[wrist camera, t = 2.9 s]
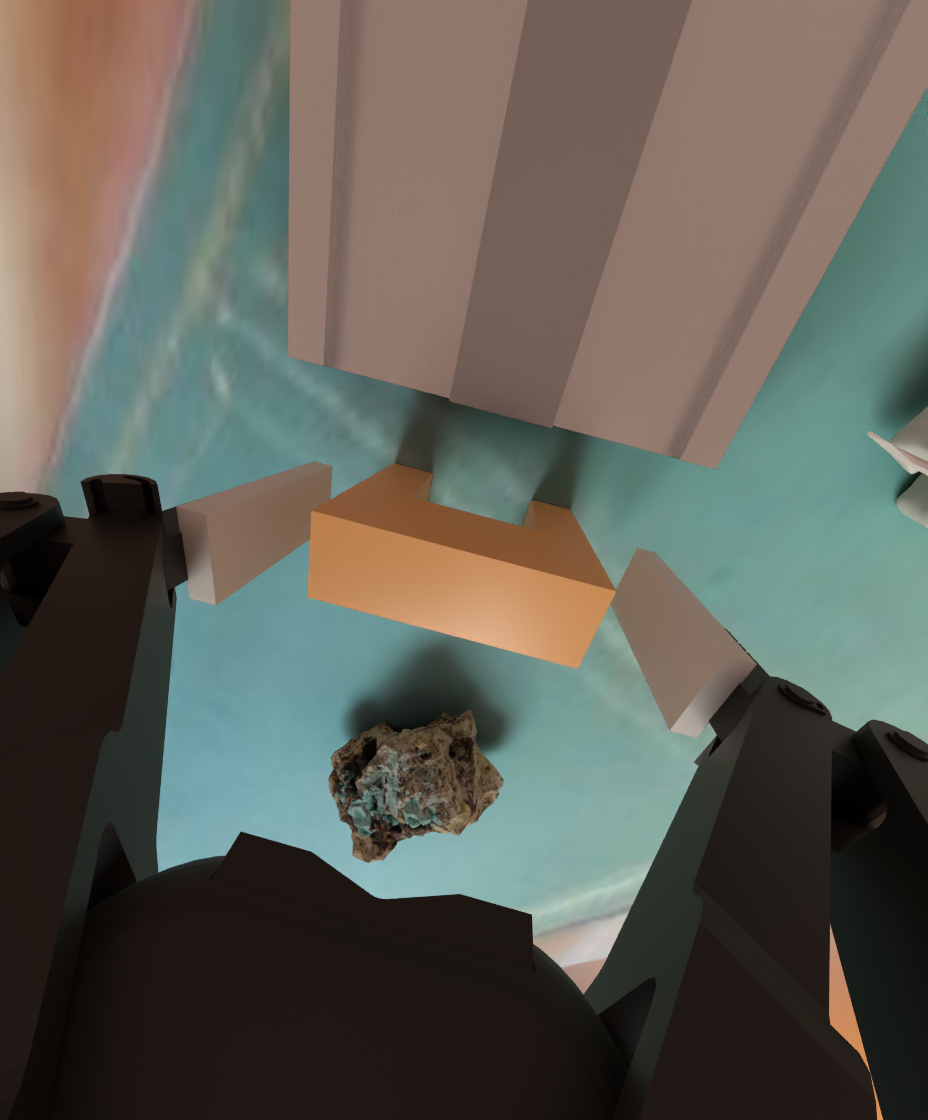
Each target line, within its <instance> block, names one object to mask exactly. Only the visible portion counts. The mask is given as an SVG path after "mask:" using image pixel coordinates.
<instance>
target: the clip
mask: <svg viewBox="0 0 928 1120" xmlns="http://www.w3.org/2000/svg"><path fill="white" fill-rule="evenodd" d="M432 478H433V473H429V472H425V471H422V470H418V469H414V468H410V467H406V466H403V465H399V464H395V463H394V464H392V465H390V466H388V467H387V468H385V469H383V470H381V471H380V472H378V473H376V474H374V475H373V476H371V477H369V478H367V479H366V480H364V481H362V482H360V483H359V484H357V485H355V486H353V487H352V488H350V489H348V490H346V491H345V492H343V493H341V494H339V495H338V496H336V497H334V498H333V499H331V500H329V501H327V502H326V503H324V504H322V505H320V506H319V507H317V508H315V509H313V510H312V511H311V530H310V555H309V580H308V597H309V598H313V599H316V600H320V601H324V602H328V603H331V604H335V605H339V606H343V607H346V608H350V609H354V610H358V611H362V612H365V613H369V614H373V615H377V616H380V617H384V618H388V619H392V620H395V621H399V622H403V623H407V624H411V625H414V626H418V627H422V628H426V629H429V630H433V631H437V632H441V633H444V634H448V635H452V636H456V637H460V638H463V639H467V640H471V641H475V642H478V643H482V644H486V645H490V646H493V647H497V648H501V649H505V650H509V651H512V652H516V653H520V654H524V655H527V656H531V657H535V658H539V659H542V660H546V661H550V662H554V663H558V664H561V665H565V666H569V667H573V668H576V669H577V668H578V666H579V664H580V663H581V661H582V659H583V657H584V655H585V653H586V651H587V649H588V647H589V645H590V643H591V641H592V639H593V637H594V635H595V633H596V631H597V629H598V627H599V625H600V623H601V621H602V619H603V617H604V615H605V613H606V611H607V609H608V607H609V605H610V603H611V601H612V599H613V597H614V595H615V593H616V590H615V588H614V586H613V584H612V583H611V581H610V579H609V577H608V575H607V574H606V572H605V570H604V568H603V567H602V565H601V563H600V561H599V559H598V558H597V556H596V554H595V552H594V550H593V549H592V547H591V545H590V543H589V542H588V540H587V538H586V536H585V534H584V533H583V531H582V529H581V527H580V526H579V524H578V522H577V520H576V518H575V517H574V515H573V513H572V511H571V510H569V509H566V508H562V507H558V506H554V505H550V504H547V503H543V502H539V501H535V500H532V499H531V502H530V505H529V508H528V511H527V514H526V517H525V520H524V523H523V526H518V525H514V524H510V523H506V522H503V521H499V520H495V519H491V518H488V517H484V516H480V515H476V514H472V513H469V512H465V511H461V510H457V509H453V508H450V507H446V506H442V505H438V504H435V503H431V502H428V498H429V493H430V488H431V483H432Z"/></svg>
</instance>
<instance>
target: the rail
mask: <svg viewBox="0 0 928 1120" xmlns="http://www.w3.org/2000/svg"><path fill="white" fill-rule="evenodd" d="M927 87H928V0H290V120H289V264H288V357H291V358H295V359H299V360H303V361H307V362H310V363H314V364H318V365H322V366H327V367H332V368H336V369H340V370H344V371H348V372H351V373H355V374H359V375H363V376H367V377H370V378H374V379H378V380H382V381H386V382H389V383H393V384H397V385H401V386H405V387H408V388H412V389H416V390H420V391H423V392H427V393H431V394H435V395H439V396H442V397H446V398H450V399H449V401H450V402H454V403H457V404H461V405H465V406H469V407H473V408H476V409H480V410H484V411H488V412H492V413H495V414H499V415H503V416H507V417H511V418H514V419H518V420H522V421H526V422H530V423H533V424H537V425H541V426H545V427H549V428H552V426H556V427H560V428H564V429H568V430H572V431H575V432H579V433H583V434H587V435H591V436H594V437H598V438H602V439H606V440H610V441H613V442H617V443H621V444H625V445H629V446H632V447H636V448H640V449H644V450H648V451H651V452H655V453H659V454H663V455H667V456H670V457H673V458H676V459H679V460H683V461H686V462H690V463H694V464H698V465H702V466H705V467H709V468H713V469H716V468H717V466H718V464H719V462H720V460H721V459H722V457H723V455H724V453H725V451H726V450H727V448H728V446H729V444H730V442H731V441H732V439H733V437H734V435H735V433H736V432H737V430H738V428H739V426H740V424H741V423H742V421H743V419H744V417H745V415H746V414H747V412H748V410H749V408H750V406H751V404H752V403H753V401H754V399H755V397H756V395H757V394H758V392H759V390H760V388H761V386H762V385H763V383H764V381H765V379H766V377H767V376H768V374H769V372H770V370H771V368H772V367H773V365H774V363H775V361H776V359H777V358H778V356H779V354H780V352H781V350H782V349H783V347H784V345H785V343H786V341H787V339H788V338H789V336H790V334H791V332H792V330H793V329H794V327H795V325H796V323H797V321H798V320H799V318H800V316H801V314H802V312H803V311H804V309H805V307H806V305H807V303H808V302H809V300H810V298H811V296H812V294H813V293H814V291H815V289H816V287H817V285H818V284H819V282H820V280H821V278H822V276H823V274H824V273H825V271H826V269H827V267H828V265H829V264H830V262H831V260H832V258H833V256H834V255H835V253H836V251H837V249H838V247H839V246H840V244H841V242H842V240H843V238H844V237H845V235H846V233H847V231H848V229H849V228H850V226H851V224H852V222H853V220H854V218H855V217H856V215H857V213H858V211H859V209H860V208H861V206H862V204H863V202H864V200H865V199H866V197H867V195H868V193H869V191H870V190H871V188H872V186H873V184H874V182H875V181H876V179H877V177H878V175H879V173H880V172H881V170H882V168H883V166H884V164H885V163H886V161H887V159H888V157H889V155H890V153H891V152H892V150H893V148H894V146H895V144H896V143H897V141H898V139H899V137H900V135H901V134H902V132H903V130H904V128H905V126H906V125H907V123H908V121H909V119H910V117H911V116H912V114H913V112H914V110H915V108H916V107H917V105H918V103H919V101H920V99H921V98H922V96H923V94H924V92H925V90H926V88H927Z"/></svg>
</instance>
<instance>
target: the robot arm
mask: <svg viewBox="0 0 928 1120" xmlns="http://www.w3.org/2000/svg"><path fill="white" fill-rule="evenodd" d="M331 478H332V466H330V465H326V464H323V463H319V462H315V461H314V462H311V463H308V464H305V465H302V466H299V467H296V468H293V469H290V470H287V471H284V472H281V473H278V474H275V475H271V476H268V477H265V478H262V479H259V480H256V481H253V482H250V483H247V484H244V485H241V486H238V487H235V488H232V489H229V490H226V491H223V492H219V493H216V494H213V495H210V496H207V497H204V498H201V499H198V500H195V501H192V502H189V503H186V504H182V505H179V506H176V507H173V508H170V509H167V510H164V511H162V509H161V503H160V497H159V491H158V485H157V483H156V481H154V480H152V479H150V478H147V477H142V476H137V475H127V474H108V475H98V476H93V477H89V478H86V479H84V480H83V481H81V485H82V488H83V492H84V496H85V499H86V503H87V507H88V511H89V514H90V516H89V517H88V519H83V518H74V517H65V516H63V513H62V510H61V507H60V504H59V501H58V500H57V498H54V497H51V496H48V495H42V494H33V493H25V492H5V493H0V1120H877V1112H876V1100H875V1095H874V1090H873V1085H872V1080H873V1084H874V1087H875V1091H876V1094H877V1098H878V1102H879V1106H880V1110H881V1113H882V1117H883V1120H928V744H926V743H925V742H924V741H922V740H921V739H918V738H917V737H916V736H914V735H913V734H911V733H909V732H907V731H903V730H901V729H899V728H897V727H895V726H892V725H890V724H887V723H885V722H882V721H878V720H870V721H868V722H867V723H866V724H865V725H864V726H863V727H862V728H860V729H859V730H858V731H857V732H856V731H854V730H851V729H849V728H847V727H845V726H842V725H840V724H838V723H836V722H834V721H832V716H831V714H830V711H829V710H828V709H827V708H826V706H825V705H823V703H822V702H820V701H819V700H818V699H817V698H815V697H814V696H813V695H812V694H810V693H809V692H808V691H806V690H805V689H803V688H801V687H799V686H797V685H795V684H793V683H791V682H789V681H787V680H784V679H781V678H778V677H770V676H769V675H768V674H767V673H766V672H765V671H764V670H763V668H762V667H761V666H760V665H759V664H758V663H757V662H756V661H755V660H754V659H753V657H752V656H751V655H750V654H749V653H747V652H746V650H745V649H744V648H743V647H742V645H741V644H739V643H738V641H737V640H736V639H735V638H734V637H733V636H732V635H731V633H730V632H729V631H728V630H726V629H725V628H724V627H722V625H721V624H720V623H719V622H718V621H717V620H716V619H715V618H714V617H713V616H712V614H711V613H710V612H709V611H708V610H707V609H706V608H705V607H704V606H703V605H702V603H701V602H700V601H699V600H698V599H697V598H696V597H695V596H694V595H693V593H692V592H691V591H690V590H689V589H688V588H687V587H686V586H685V585H684V584H683V582H682V581H681V580H680V579H679V578H678V577H677V576H676V575H675V574H674V573H673V571H672V570H671V569H670V568H669V567H668V566H667V565H666V564H665V563H664V562H663V560H662V559H661V558H660V557H659V556H658V555H657V554H656V553H654V552H651V551H647V550H643V549H640V548H637V550H636V552H635V554H634V556H633V558H632V560H631V562H630V564H629V566H628V568H627V570H626V571H625V573H624V575H623V577H622V579H621V581H620V583H619V585H618V587H617V589H616V593H615V595H614V597H613V599H612V601H611V603H610V604H611V606H612V608H613V610H614V612H615V614H616V617H617V619H618V621H619V623H620V625H621V627H622V629H623V632H624V634H625V636H626V638H627V640H628V642H629V644H630V647H631V649H632V651H633V653H634V655H635V657H636V659H637V662H638V664H639V666H640V668H641V670H642V672H643V674H644V676H645V679H646V681H647V683H648V685H649V687H650V689H651V691H652V694H653V696H654V698H655V700H656V702H657V704H658V706H659V709H660V711H661V713H662V715H663V717H664V719H665V721H666V724H667V726H668V728H669V730H670V731H674V732H677V733H681V734H684V735H688V736H692V737H695V738H697V737H698V736H699V735H700V733H701V732H702V731H703V730H704V728H705V727H706V726H707V725H708V724H709V722H710V724H711V726H712V727H713V729H714V731H715V732H716V734H717V736H716V737H715V738H714V739H713V741H712V742H711V743H710V744H709V745H708V746H707V748H706V749H705V750H704V751H703V752H702V753H701V755H700V756H699V757H698V758H697V759H696V760H695V762H694V763H695V764H697V765H699V766H698V769H697V771H696V773H695V775H694V777H693V779H692V781H691V783H690V785H689V787H688V790H687V792H686V794H685V796H684V798H683V800H682V802H681V804H680V806H679V808H678V811H677V813H676V815H675V817H674V819H673V821H672V823H671V825H670V827H669V829H668V832H667V834H666V836H665V838H664V840H663V842H662V844H661V846H660V848H659V850H658V853H657V855H656V857H655V859H654V861H653V863H652V865H651V867H650V869H649V871H648V874H647V876H646V878H645V880H644V882H643V884H642V886H641V888H640V890H639V892H638V895H637V897H636V899H635V901H634V903H633V905H632V907H631V909H630V911H629V913H628V916H627V918H626V920H625V922H624V924H623V926H622V928H621V930H620V932H619V934H618V937H617V939H616V941H615V943H614V945H613V947H612V949H611V951H610V953H609V955H608V958H607V960H606V962H605V963H604V966H603V967H602V969H601V970H600V972H599V974H598V975H597V977H596V978H595V979H594V981H593V982H592V984H591V985H590V986H589V988H588V989H587V991H586V992H585V993H584V995H583V994H582V992H581V991H580V989H579V988H578V987H577V985H576V984H575V983H574V982H573V981H572V980H571V979H570V977H569V976H568V975H567V974H566V973H565V972H564V971H563V970H562V969H561V967H560V966H559V965H558V964H557V963H556V962H554V961H553V960H552V959H551V958H550V957H549V956H548V955H547V954H546V953H544V952H543V951H542V950H541V949H540V948H538V947H537V946H535V945H534V944H533V931H532V915H531V914H528V913H524V912H521V911H517V910H514V909H510V908H507V907H503V906H500V905H496V904H493V903H489V902H486V901H482V900H479V899H475V898H472V897H468V896H465V895H461V894H455V895H440V896H426V897H412V898H397V899H380V898H377V897H374V896H372V895H371V894H369V893H368V892H367V891H365V890H364V889H362V888H361V887H360V886H358V885H357V884H356V883H354V882H353V881H351V880H350V879H349V878H347V877H346V876H344V875H343V874H342V873H340V872H339V871H337V870H336V869H335V868H333V867H332V866H331V865H329V864H328V863H326V862H325V861H324V860H322V859H321V858H319V857H318V856H317V855H315V854H314V853H312V852H310V851H307V850H303V849H300V848H296V847H293V846H289V845H286V844H282V843H279V842H275V841H272V840H268V839H265V838H261V837H258V836H254V835H251V834H247V833H244V832H240V834H239V835H238V837H237V839H236V840H235V842H234V843H233V845H232V847H231V848H230V850H229V851H228V853H227V855H226V856H215V857H210V858H205V859H199V860H194V861H191V862H188V863H184V864H181V865H178V866H175V867H171V868H169V869H166V870H164V871H161V872H159V873H158V862H157V850H156V834H157V821H158V809H159V797H160V786H161V774H162V762H163V751H164V739H165V728H166V716H167V704H168V693H169V681H170V669H171V658H172V646H173V635H174V623H175V611H176V600H177V598H176V592H175V587H176V586H178V585H179V584H181V583H183V582H185V581H186V580H187V583H188V589H189V596H190V598H191V599H195V600H198V601H202V602H206V603H209V604H213V605H217V604H218V603H220V602H221V601H223V600H224V599H225V598H227V597H228V596H230V595H231V594H233V593H234V592H235V591H237V590H238V589H240V588H241V587H243V586H244V585H245V584H247V583H248V582H250V581H251V580H253V579H254V578H255V577H257V576H258V575H260V574H261V573H263V572H264V571H265V570H267V569H268V568H270V567H271V566H272V565H274V564H275V563H277V562H278V561H280V560H281V559H282V558H284V557H285V556H287V555H288V554H290V553H291V552H292V551H294V550H295V549H297V548H298V547H300V546H301V545H302V544H304V543H305V542H307V541H308V540H310V530H311V511H312V510H313V509H315V508H317V507H319V506H320V505H322V504H324V503H326V502H327V501H329V500H330V494H331ZM830 924H831V928H832V932H833V935H834V939H835V943H836V946H837V950H838V953H839V957H840V961H841V965H842V969H843V972H844V976H845V980H846V983H847V987H848V991H849V994H850V998H851V1002H852V1006H853V1009H854V1013H855V1016H856V1020H857V1024H858V1028H859V1032H860V1035H861V1039H862V1043H863V1046H864V1050H865V1053H866V1057H867V1061H868V1065H869V1069H870V1072H871V1074H870V1072H869V1070H868V1068H867V1066H866V1065H865V1063H864V1061H863V1059H862V1058H861V1056H860V1054H859V1053H858V1051H857V1050H856V1049H854V1048H853V1046H852V1045H851V1044H850V1043H848V1041H846V1040H845V1038H843V1037H842V1036H841V1035H840V1034H839V1033H838V1032H837V1031H836V1030H835V1029H834V1028H833V1027H832V1026H831V1025H830V1019H829V960H830V959H829V958H830V957H829V955H830ZM871 1076H872V1080H871Z"/></svg>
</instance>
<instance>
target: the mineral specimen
mask: <svg viewBox="0 0 928 1120" xmlns="http://www.w3.org/2000/svg"><path fill="white" fill-rule="evenodd" d="M476 733H477V729H476V725H475V719H474V717H473V715H472V712H471V710H470V709H467V710H466V711H465V712H463V713H462V714H460V715H458V716H457V715H450V716H449V715H448V714H447V713H445V712H444V713H442V714H441V716H440V718H439V719H437V720H435V721H433V722H431V723H430V724H429V725H428V726H427V727H417V728H416V729H413V730H409V729H403V730H402V732H401V733H400V732H394V730H393V729H392V728H391V727H389V726H387V724H386V721H385V722H382V723H380V724H377V725H375V726H374V727H373V728H372V729H371V730H369V731H367V730H365V731H364V732H363V733H362V734H359V735H357V736H356V737H355V738H353V739H351V740H350V741H349V742H348V743H347V744H346V745H345V746H343V747H342V748H340V749H339V750H337V751H335V752H334V754H333V755H332V757H331V763H332V767H333V771H332V773H331V775H330V777H329V779H328V781H329V788H330V792H331V794H332V797H333V798H334V800H335V801H336V803H337V808H338V809H339V817H340V821H342V822H346V823H347V824H348V825H349V827H350V829H351V830H352V841H353V854H352V856H354V857H356V858H358V859H360V860H362V861H364V862H367V863H370V862H373V861H376V860H384V859H385V857H386V856H387V855H388V854H389V853H390V852H391V851H392V850H393V849H394V847H395V846H396V845H397V842H399V841H401V840H403V839H407V838H411V837H412V836H413V835H417V836H423V835H424V834H426V833H429V832H438V833H453V834H456V835H459V834H461V832H462V831H463V830H464V828H465V827H466V826H468V825H470V824H472V823H474V822H476V821H477V820H478V818H479V817H480V816H481V814H482V813H483V811H484V810H485V809H486V808H487V807H489V806H490V805H491V804H493V802H494V800H495V799H496V798H497V797H498V795H499V792H498V790H499V789H500V788H501V787H502V785H503V782H504V780H503V778H502V777H501V776H500V774H499V772H498V771H497V769H496V768H495V767H494V766H493V765H492V764H491V763H490V762H489V761H488V759H487V758H486V757H485V755H484V754H483V753H482V752H481V751H480V750H479V748H478V746H477V744H476V742H475V739H476Z"/></svg>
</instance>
